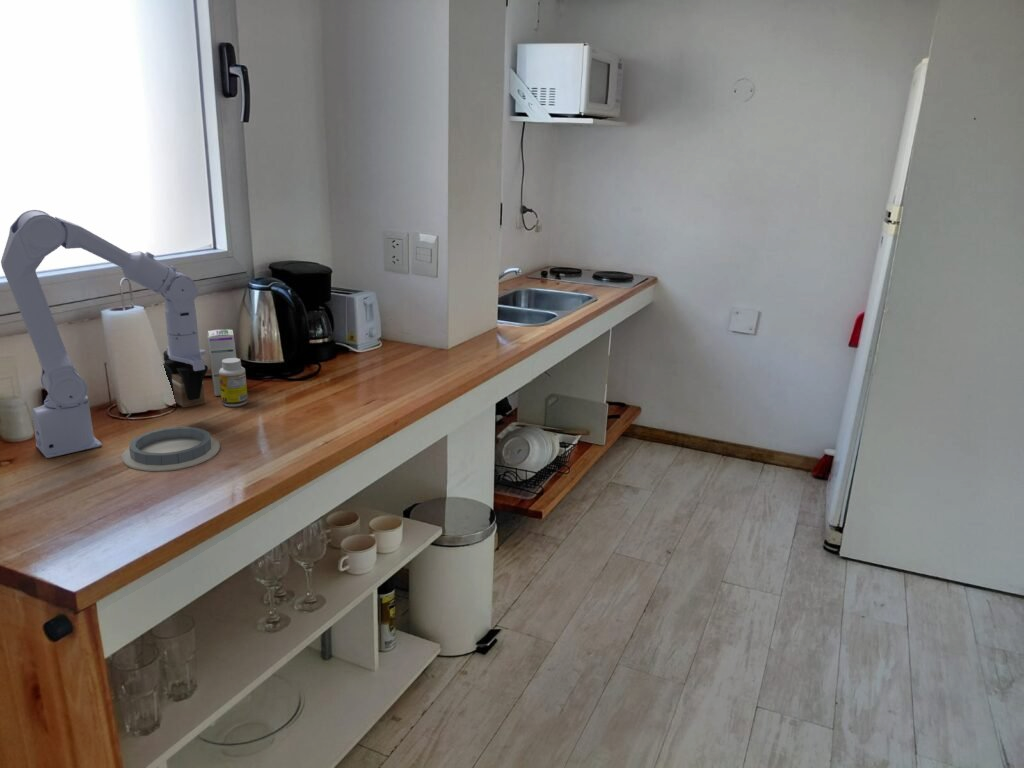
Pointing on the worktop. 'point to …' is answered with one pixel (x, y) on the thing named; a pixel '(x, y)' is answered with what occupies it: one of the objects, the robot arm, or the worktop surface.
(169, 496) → the worktop surface
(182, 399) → the walnut bead block
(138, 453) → the round tray
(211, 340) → the syrup box
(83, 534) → the worktop surface
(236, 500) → the worktop surface
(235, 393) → the supplement bottle
